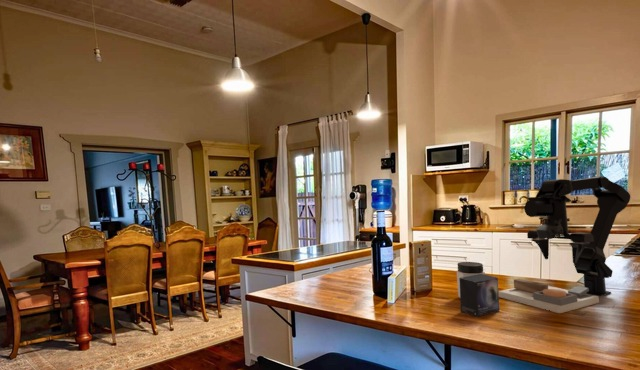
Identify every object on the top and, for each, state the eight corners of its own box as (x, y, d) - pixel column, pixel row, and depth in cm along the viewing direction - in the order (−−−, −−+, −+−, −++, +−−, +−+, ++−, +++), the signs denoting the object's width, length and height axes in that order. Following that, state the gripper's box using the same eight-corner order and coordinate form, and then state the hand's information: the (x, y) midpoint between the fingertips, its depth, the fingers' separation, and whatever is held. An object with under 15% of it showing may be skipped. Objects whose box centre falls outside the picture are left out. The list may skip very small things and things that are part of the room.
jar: (475, 303, 110) (473, 267, 110) (454, 298, 117) (451, 264, 117) (490, 298, 115) (488, 263, 115) (469, 293, 121) (466, 260, 122)
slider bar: (519, 287, 119) (519, 278, 119) (548, 293, 110) (547, 284, 110) (514, 288, 118) (513, 279, 118) (542, 294, 109) (542, 285, 109)
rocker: (577, 288, 110) (576, 285, 110) (589, 290, 107) (588, 287, 107) (568, 293, 108) (567, 290, 108) (580, 296, 105) (579, 293, 105)
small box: (478, 317, 97) (476, 281, 98) (459, 311, 103) (457, 277, 103) (501, 311, 102) (498, 276, 102) (482, 305, 108) (480, 273, 108)
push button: (551, 294, 108) (550, 287, 108) (571, 298, 102) (570, 292, 102) (538, 297, 105) (538, 290, 105) (558, 301, 100) (558, 295, 100)
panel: (536, 288, 124) (535, 278, 124) (599, 302, 106) (597, 289, 106) (499, 297, 116) (498, 285, 116) (559, 313, 98) (558, 299, 98)
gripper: (515, 216, 120) (518, 259, 120) (571, 217, 103) (576, 268, 103) (535, 214, 125) (538, 256, 124) (592, 215, 108) (596, 264, 107)
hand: (560, 261), depth 114 cm, fingers open, 9 cm apart
